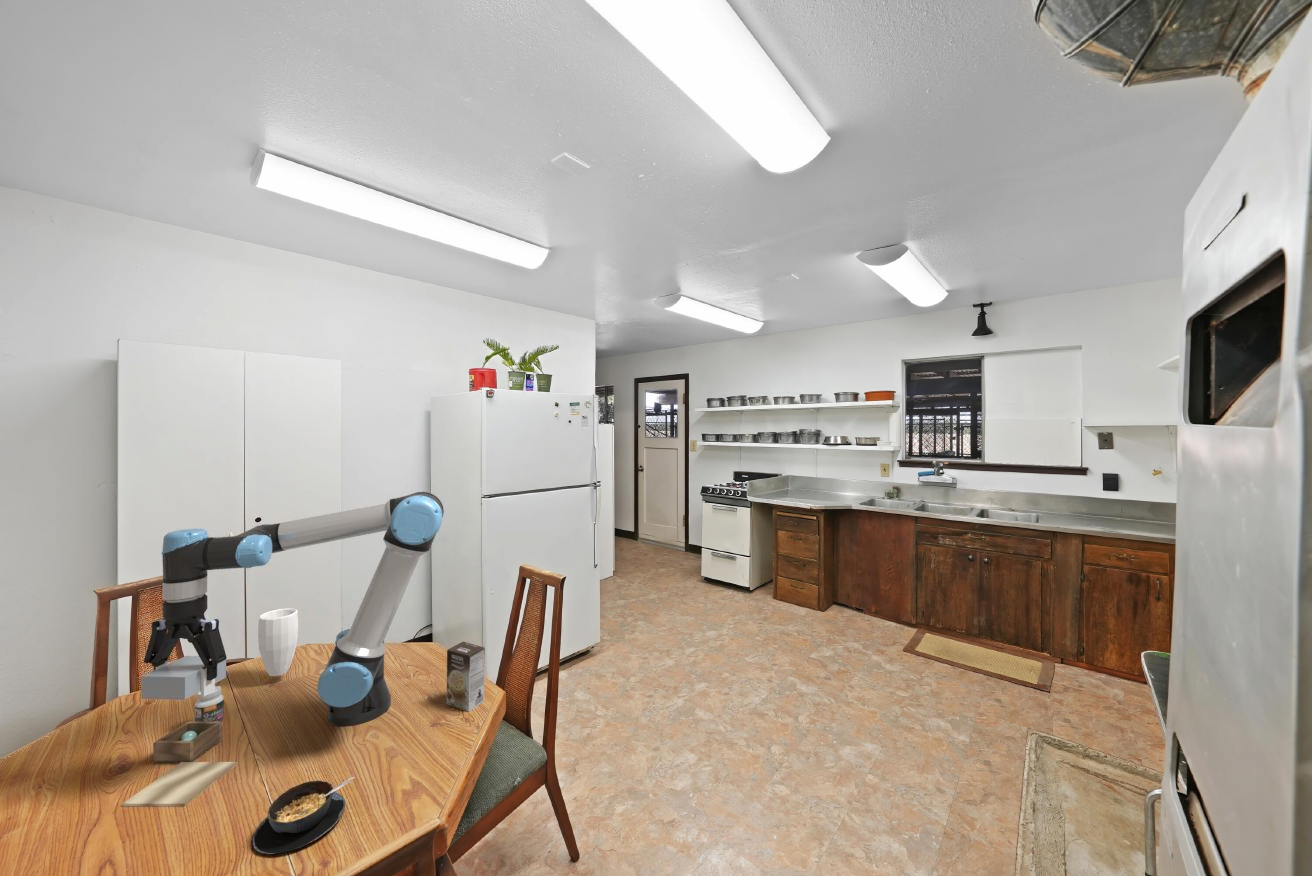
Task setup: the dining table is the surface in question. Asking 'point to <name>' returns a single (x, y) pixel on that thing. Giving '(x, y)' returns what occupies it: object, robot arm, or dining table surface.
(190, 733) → the marble
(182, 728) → the walnut dish
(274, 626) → the cup
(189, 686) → the grey cover
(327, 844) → the dining table surface
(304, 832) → the soup bowl
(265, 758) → the dining table surface
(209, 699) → the pill bottle
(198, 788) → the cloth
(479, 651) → the coffee box
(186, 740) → the marble
